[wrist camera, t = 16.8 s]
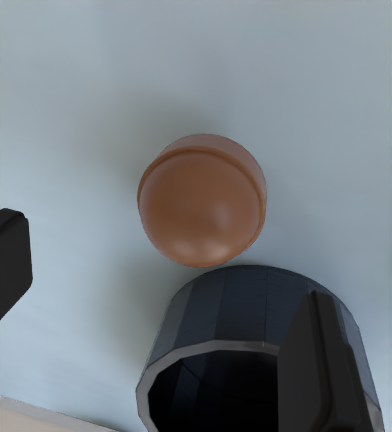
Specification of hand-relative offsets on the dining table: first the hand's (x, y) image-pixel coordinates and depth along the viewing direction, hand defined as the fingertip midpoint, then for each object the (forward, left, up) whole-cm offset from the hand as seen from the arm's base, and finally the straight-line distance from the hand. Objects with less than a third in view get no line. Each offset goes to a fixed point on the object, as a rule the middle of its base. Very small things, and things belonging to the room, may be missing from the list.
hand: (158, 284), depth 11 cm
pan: (+13, +6, -11) cm, 18 cm away
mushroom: (0, 0, -11) cm, 11 cm away
